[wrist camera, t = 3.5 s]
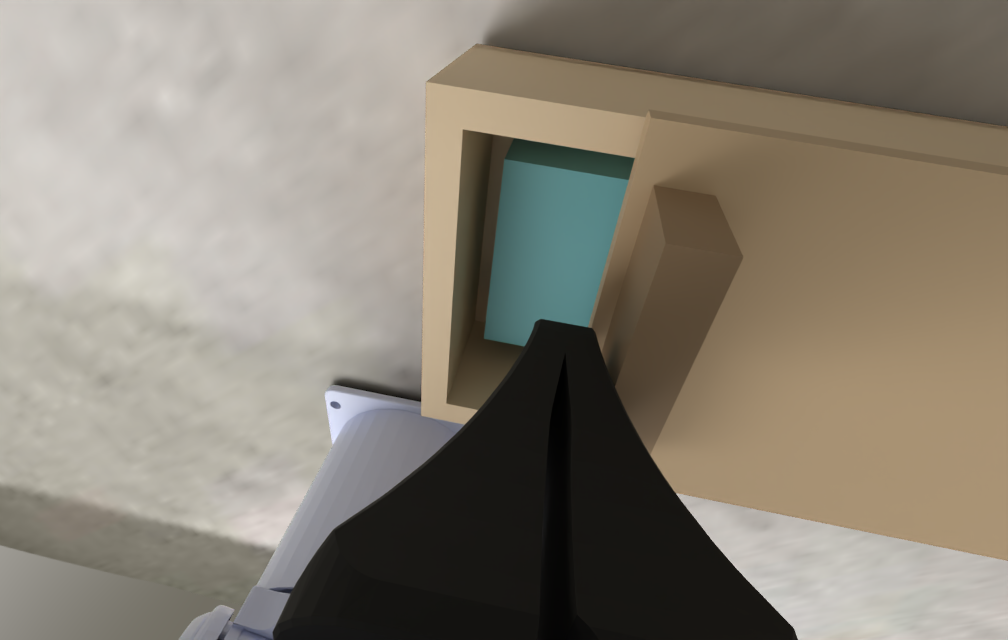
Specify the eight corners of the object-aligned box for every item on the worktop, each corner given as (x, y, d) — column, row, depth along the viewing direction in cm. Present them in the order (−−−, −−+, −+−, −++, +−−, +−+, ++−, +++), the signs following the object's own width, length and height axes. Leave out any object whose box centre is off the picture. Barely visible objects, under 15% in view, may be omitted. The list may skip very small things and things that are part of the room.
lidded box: (456, 323, 20) (421, 415, 16) (476, 43, 14) (426, 81, 10) (864, 400, 19) (932, 518, 15) (1076, 137, 13) (1284, 220, 9)
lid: (553, 451, 16) (544, 541, 13) (648, 109, 9) (664, 164, 7) (1096, 562, 15) (1190, 678, 12) (1611, 264, 8) (2004, 387, 6)
